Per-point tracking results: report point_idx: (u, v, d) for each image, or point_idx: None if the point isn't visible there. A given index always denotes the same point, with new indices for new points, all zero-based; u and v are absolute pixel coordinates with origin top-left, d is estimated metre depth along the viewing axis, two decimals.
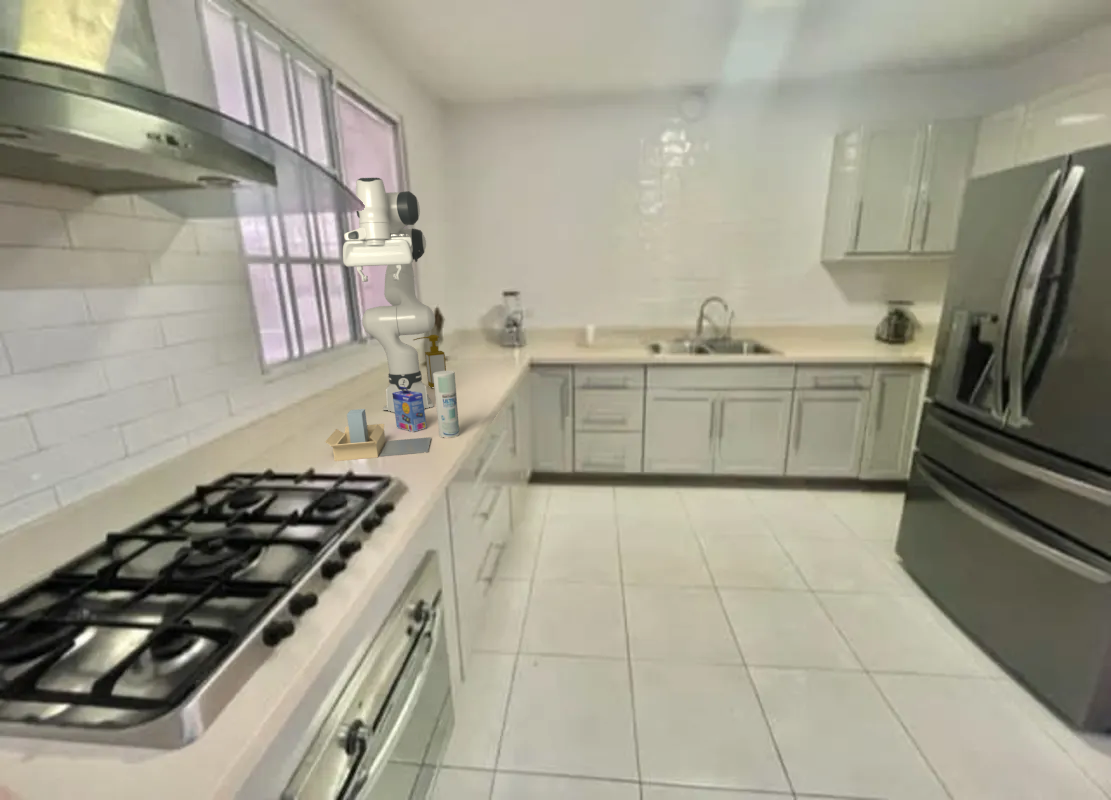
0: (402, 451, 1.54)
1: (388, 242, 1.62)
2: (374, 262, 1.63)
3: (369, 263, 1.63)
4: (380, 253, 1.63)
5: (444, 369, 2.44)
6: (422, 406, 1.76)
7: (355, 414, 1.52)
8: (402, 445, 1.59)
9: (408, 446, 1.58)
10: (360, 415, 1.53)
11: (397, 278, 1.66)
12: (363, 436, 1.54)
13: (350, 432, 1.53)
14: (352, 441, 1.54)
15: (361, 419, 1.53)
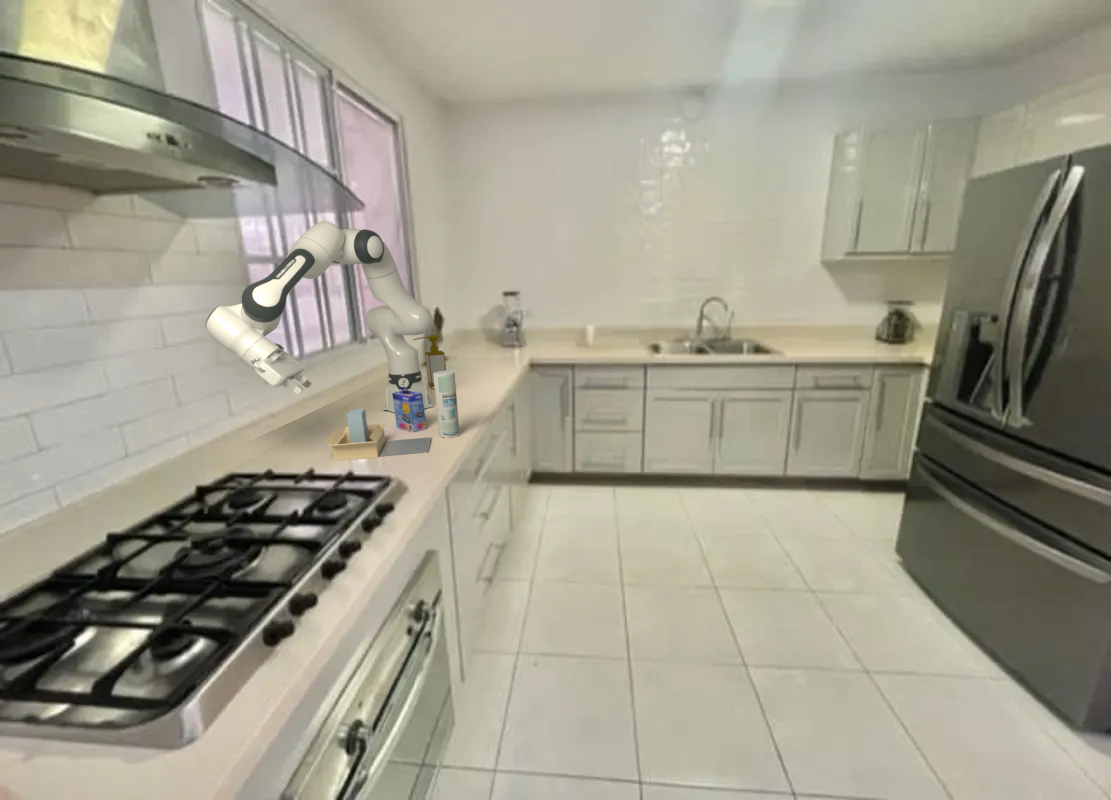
0: (402, 451, 1.54)
1: None
2: None
3: None
4: None
5: (444, 369, 2.44)
6: (422, 406, 1.76)
7: (355, 414, 1.52)
8: (402, 445, 1.59)
9: (408, 446, 1.58)
10: (360, 415, 1.53)
11: None
12: (363, 436, 1.54)
13: (350, 432, 1.53)
14: (352, 441, 1.54)
15: (361, 419, 1.53)
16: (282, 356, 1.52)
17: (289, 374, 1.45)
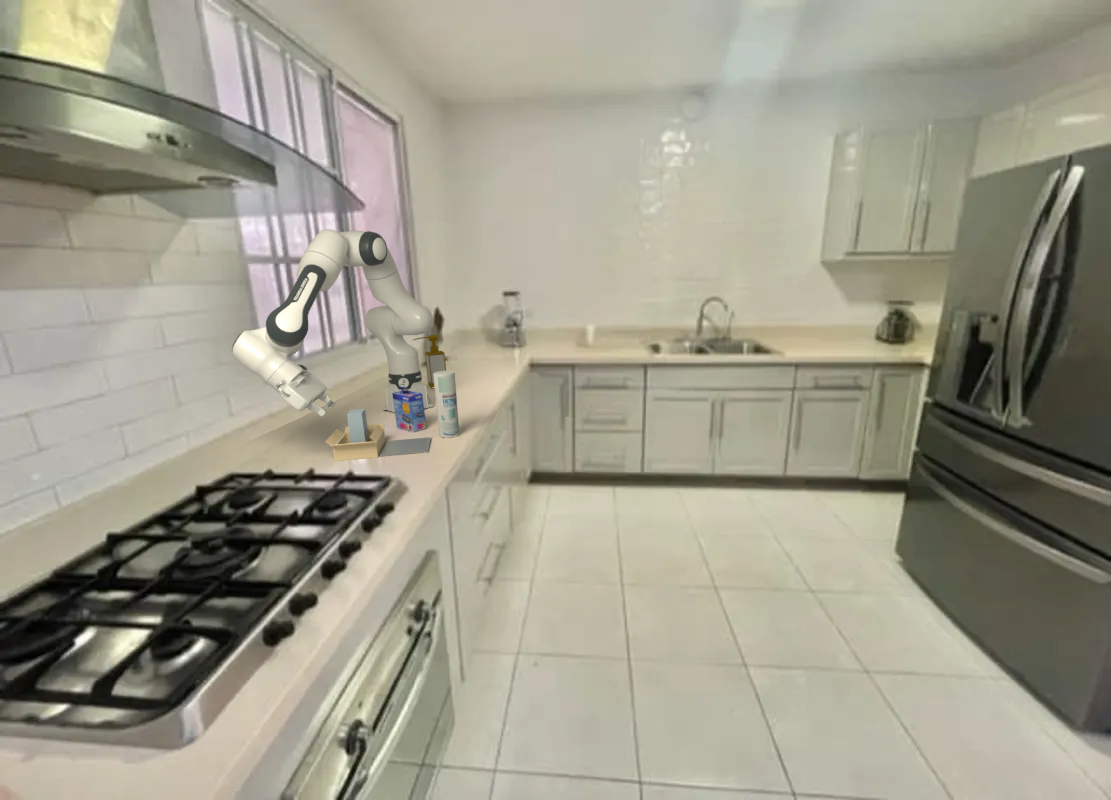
0: (402, 451, 1.54)
1: None
2: None
3: None
4: None
5: (444, 369, 2.44)
6: (422, 406, 1.76)
7: (355, 414, 1.52)
8: (402, 445, 1.59)
9: (408, 446, 1.58)
10: (360, 415, 1.53)
11: None
12: (363, 436, 1.54)
13: (350, 432, 1.53)
14: (352, 441, 1.54)
15: (361, 419, 1.53)
16: (306, 377, 1.54)
17: (313, 397, 1.48)
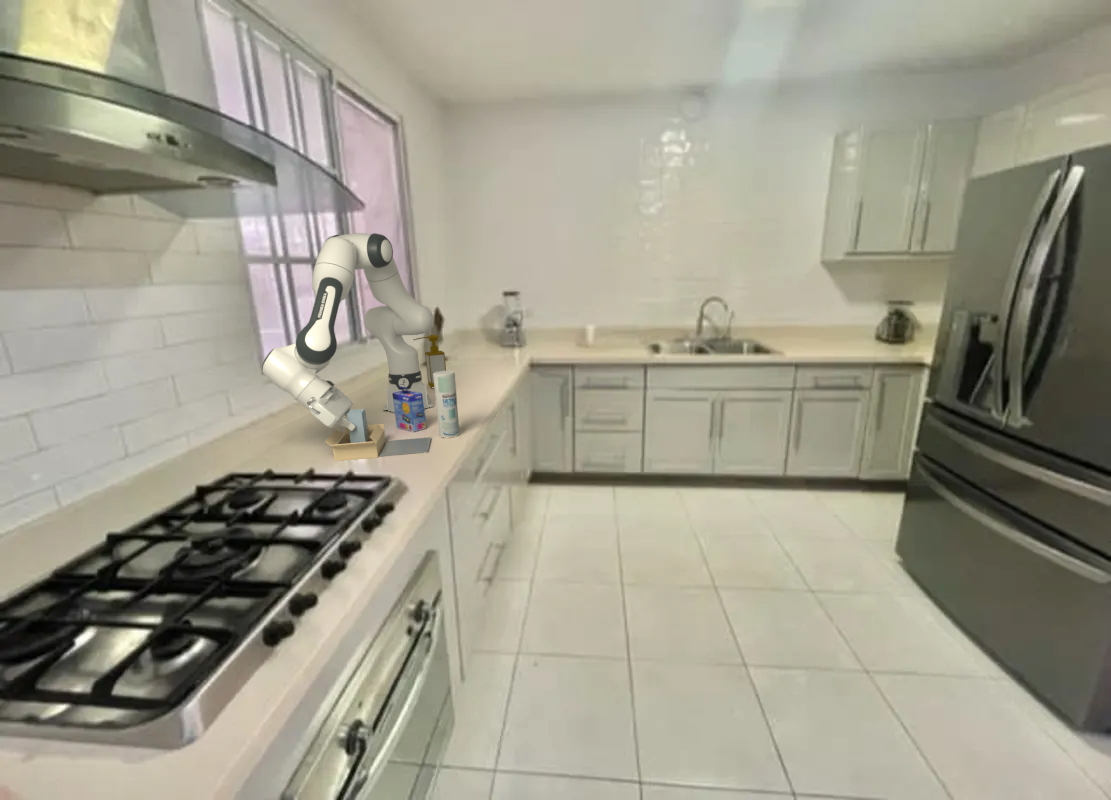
0: (402, 451, 1.54)
1: None
2: None
3: None
4: None
5: (444, 369, 2.44)
6: (422, 406, 1.76)
7: (355, 414, 1.52)
8: (402, 445, 1.59)
9: (408, 446, 1.58)
10: (360, 415, 1.53)
11: None
12: (363, 436, 1.54)
13: (350, 432, 1.53)
14: (352, 441, 1.54)
15: (361, 419, 1.53)
16: (333, 393, 1.56)
17: (342, 413, 1.50)
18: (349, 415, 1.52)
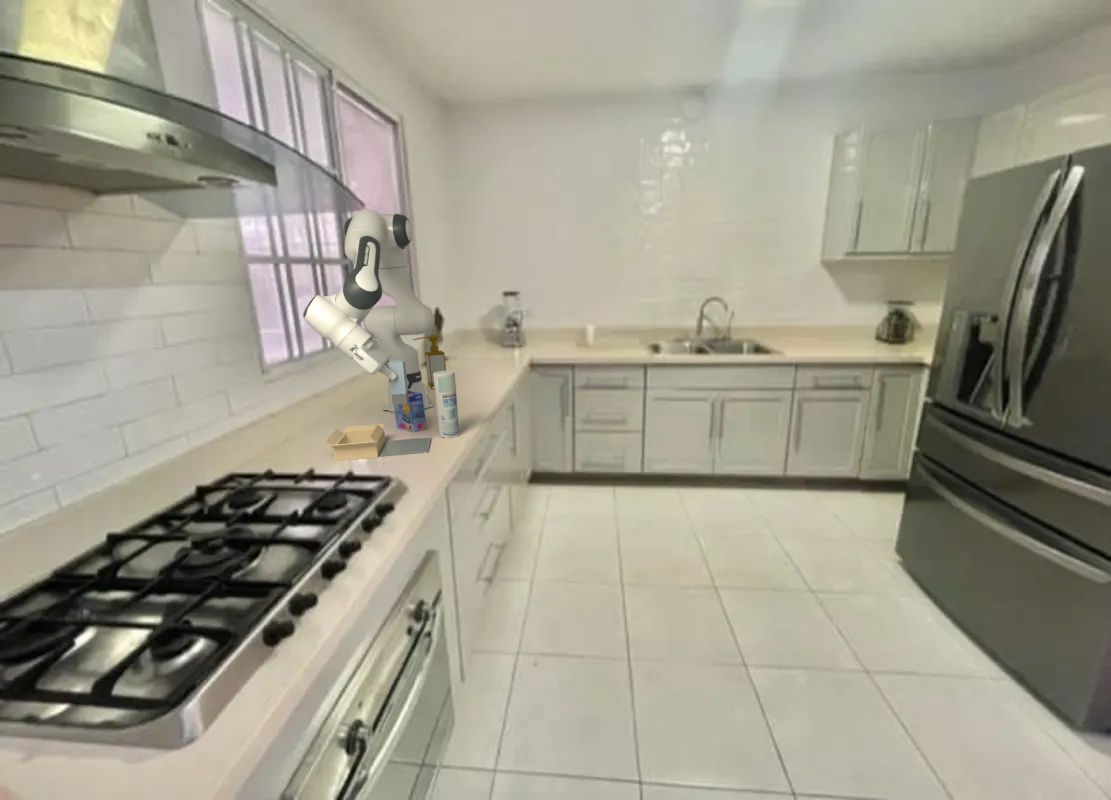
0: (402, 451, 1.54)
1: None
2: None
3: None
4: None
5: (444, 369, 2.44)
6: (422, 406, 1.76)
7: (396, 363, 1.51)
8: (402, 445, 1.59)
9: (408, 446, 1.58)
10: (401, 364, 1.51)
11: None
12: (404, 386, 1.53)
13: (391, 382, 1.52)
14: (393, 391, 1.53)
15: (402, 368, 1.52)
16: (373, 343, 1.55)
17: (383, 361, 1.49)
18: (390, 364, 1.51)
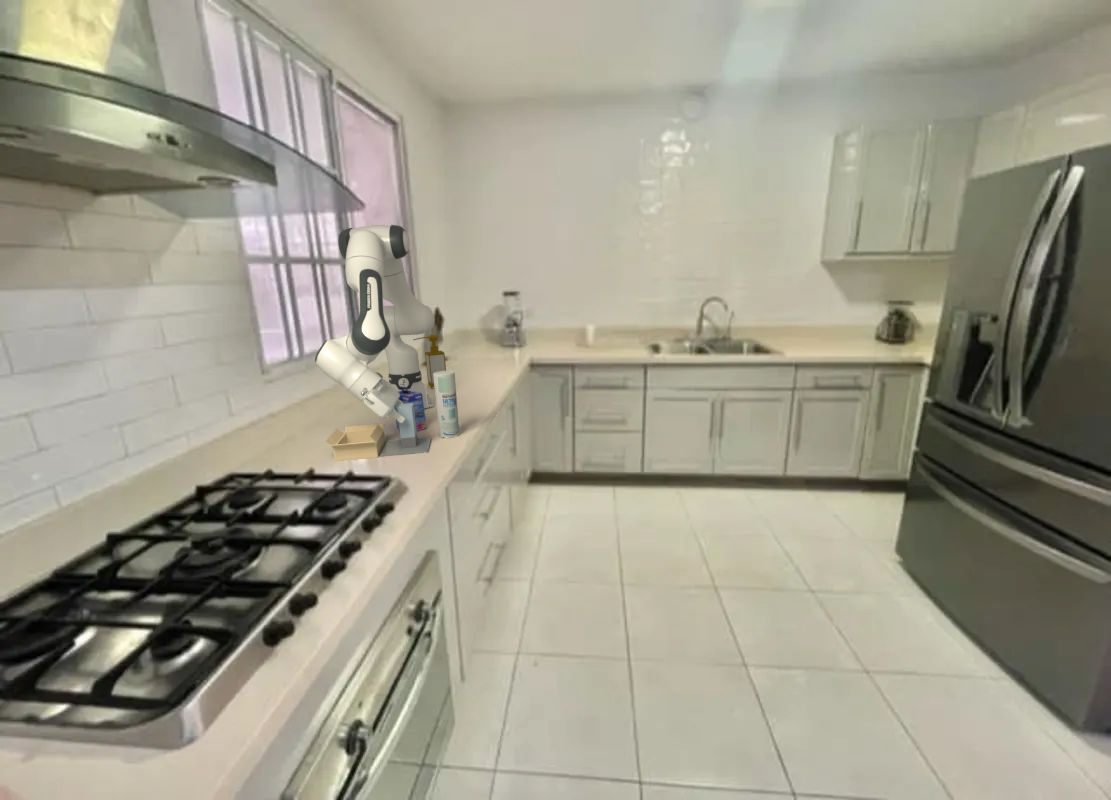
0: (402, 451, 1.54)
1: None
2: None
3: None
4: None
5: (444, 369, 2.44)
6: (422, 406, 1.76)
7: (405, 408, 1.54)
8: None
9: None
10: (410, 409, 1.55)
11: None
12: (413, 430, 1.56)
13: (400, 426, 1.55)
14: (402, 435, 1.56)
15: (411, 413, 1.55)
16: (383, 385, 1.58)
17: (393, 404, 1.52)
18: (399, 409, 1.54)
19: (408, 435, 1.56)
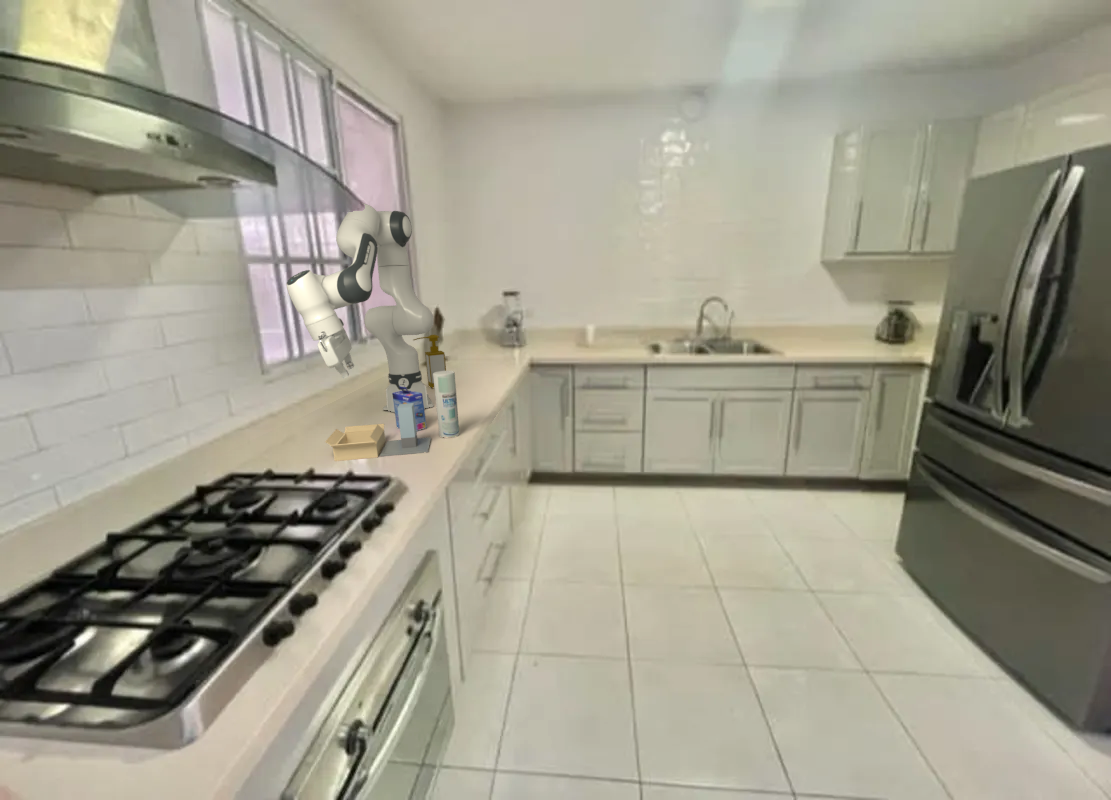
0: (402, 451, 1.54)
1: None
2: None
3: None
4: None
5: (444, 369, 2.44)
6: (422, 406, 1.76)
7: (405, 408, 1.54)
8: None
9: None
10: (410, 409, 1.55)
11: None
12: (413, 430, 1.56)
13: (400, 426, 1.55)
14: (402, 435, 1.56)
15: (411, 413, 1.55)
16: (340, 333, 1.57)
17: (343, 358, 1.52)
18: (399, 409, 1.54)
19: (408, 435, 1.56)
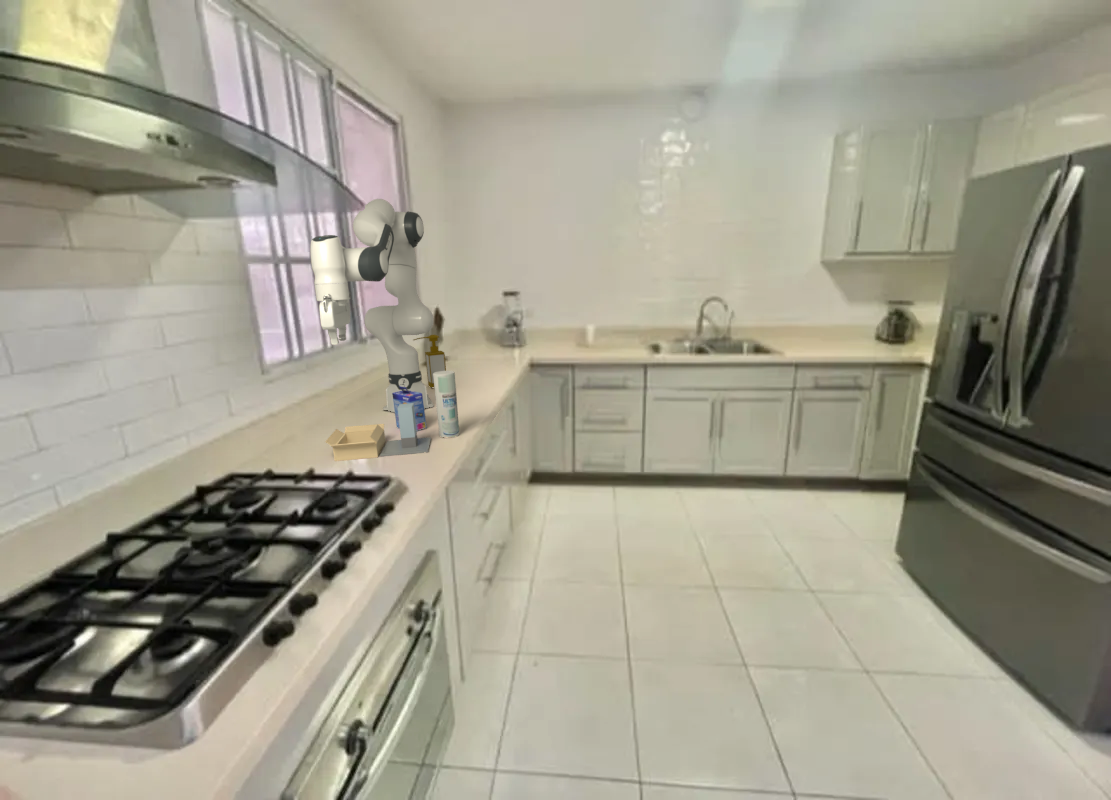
0: (402, 451, 1.54)
1: None
2: None
3: None
4: None
5: (444, 369, 2.44)
6: (422, 406, 1.76)
7: (405, 408, 1.54)
8: None
9: None
10: (410, 409, 1.55)
11: None
12: (413, 430, 1.56)
13: (400, 426, 1.55)
14: (402, 435, 1.56)
15: (411, 413, 1.55)
16: None
17: (339, 325, 1.52)
18: (399, 409, 1.54)
19: (408, 435, 1.56)
